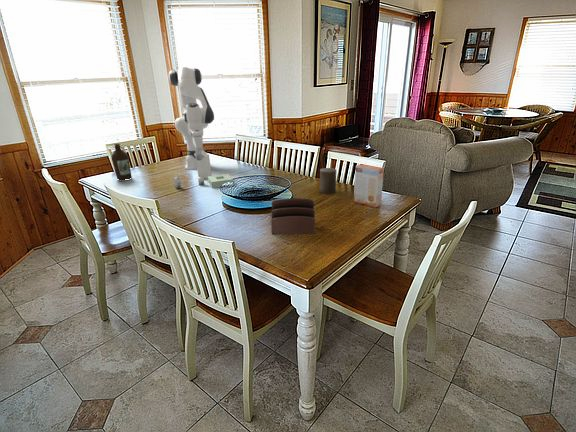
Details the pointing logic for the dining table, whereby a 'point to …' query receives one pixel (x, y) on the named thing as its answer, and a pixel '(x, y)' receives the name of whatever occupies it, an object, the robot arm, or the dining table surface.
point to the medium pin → (177, 182)
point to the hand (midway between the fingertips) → (198, 153)
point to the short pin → (201, 181)
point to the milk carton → (204, 165)
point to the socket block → (219, 180)
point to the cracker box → (368, 185)
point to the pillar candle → (327, 180)
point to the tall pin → (198, 155)
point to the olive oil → (121, 163)
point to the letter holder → (293, 216)
